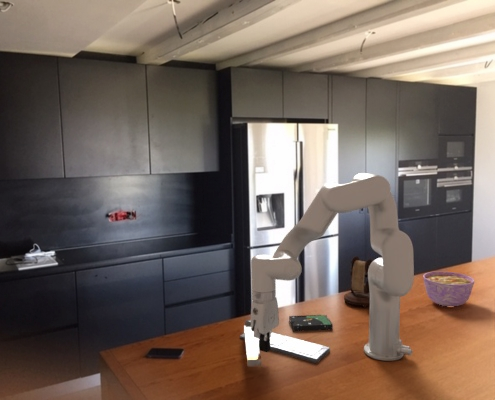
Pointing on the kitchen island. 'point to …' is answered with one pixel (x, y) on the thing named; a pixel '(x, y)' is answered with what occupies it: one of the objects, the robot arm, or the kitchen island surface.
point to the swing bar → (251, 346)
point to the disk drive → (310, 323)
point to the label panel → (296, 347)
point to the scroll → (359, 283)
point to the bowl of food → (448, 287)
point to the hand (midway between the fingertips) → (264, 350)
